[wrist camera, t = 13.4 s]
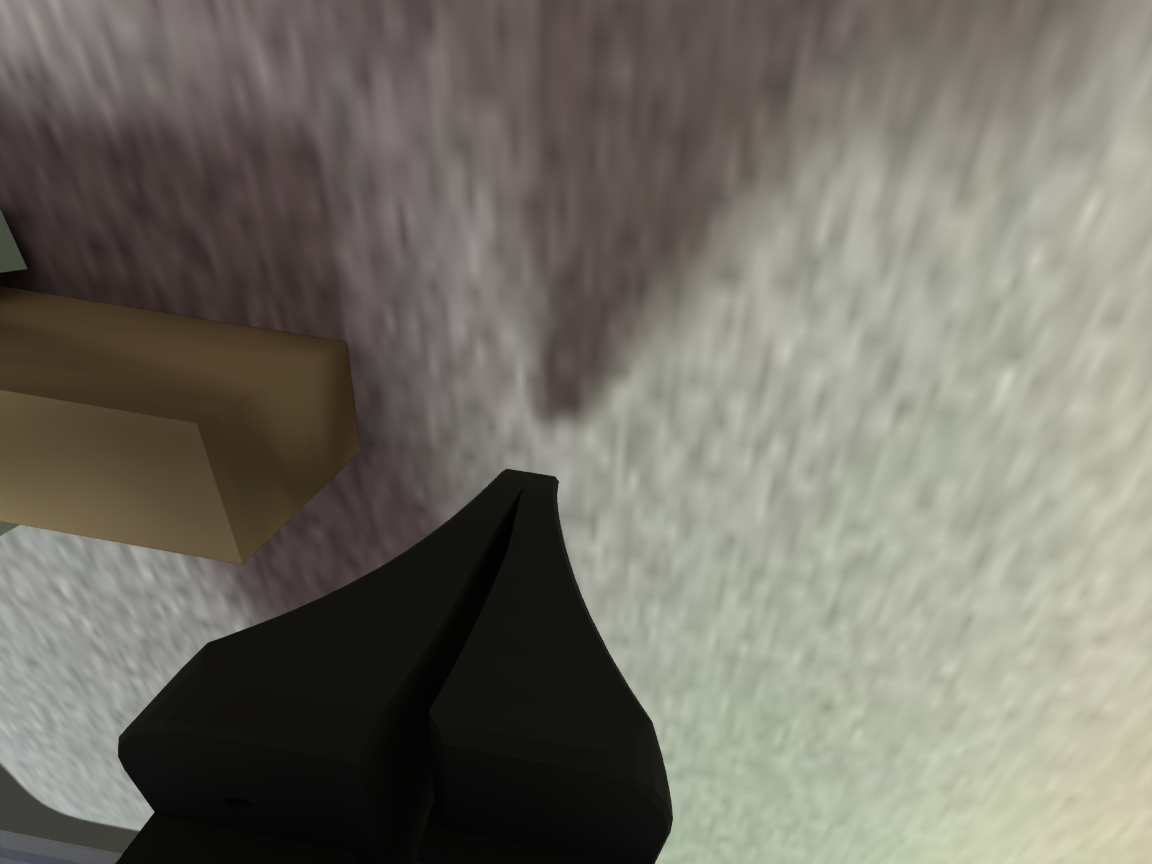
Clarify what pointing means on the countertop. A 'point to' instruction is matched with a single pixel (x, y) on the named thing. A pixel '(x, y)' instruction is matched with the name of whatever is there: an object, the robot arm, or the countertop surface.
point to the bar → (165, 424)
